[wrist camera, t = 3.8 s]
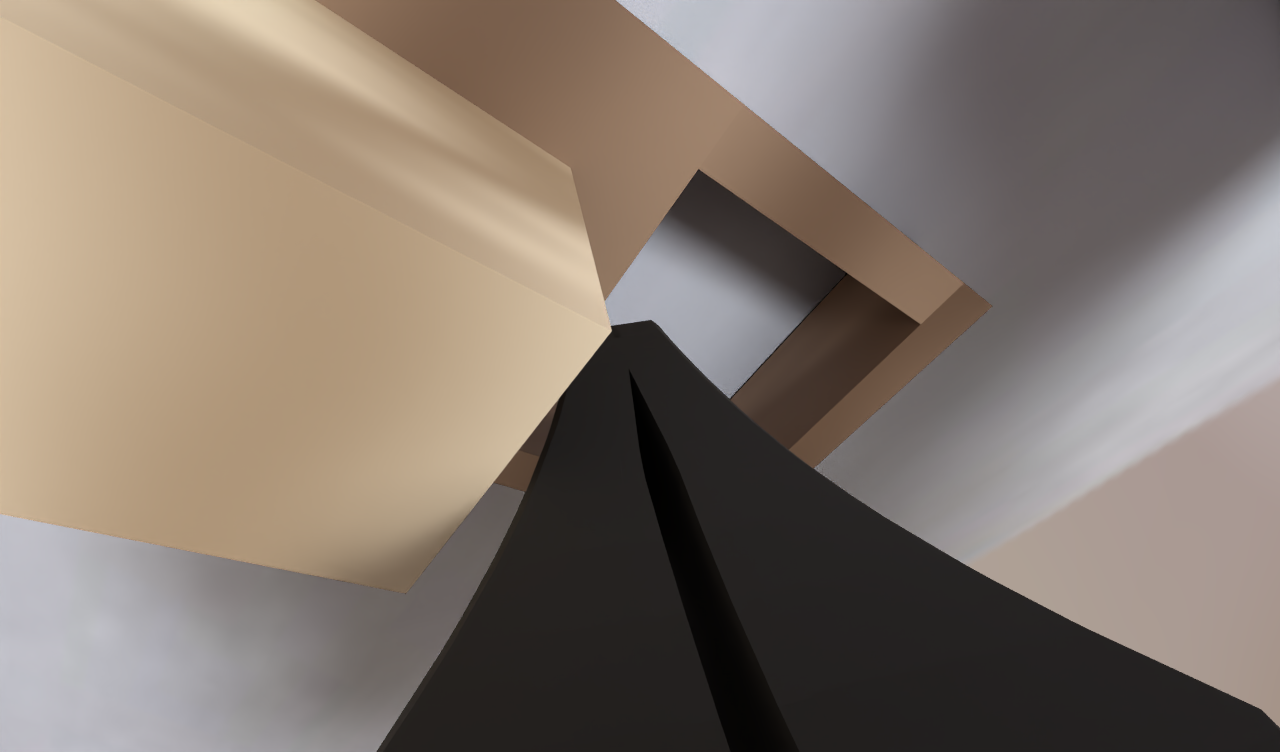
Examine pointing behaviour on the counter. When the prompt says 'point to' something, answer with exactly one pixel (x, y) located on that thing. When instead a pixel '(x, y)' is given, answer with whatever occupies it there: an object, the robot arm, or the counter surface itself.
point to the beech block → (269, 285)
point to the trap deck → (661, 169)
